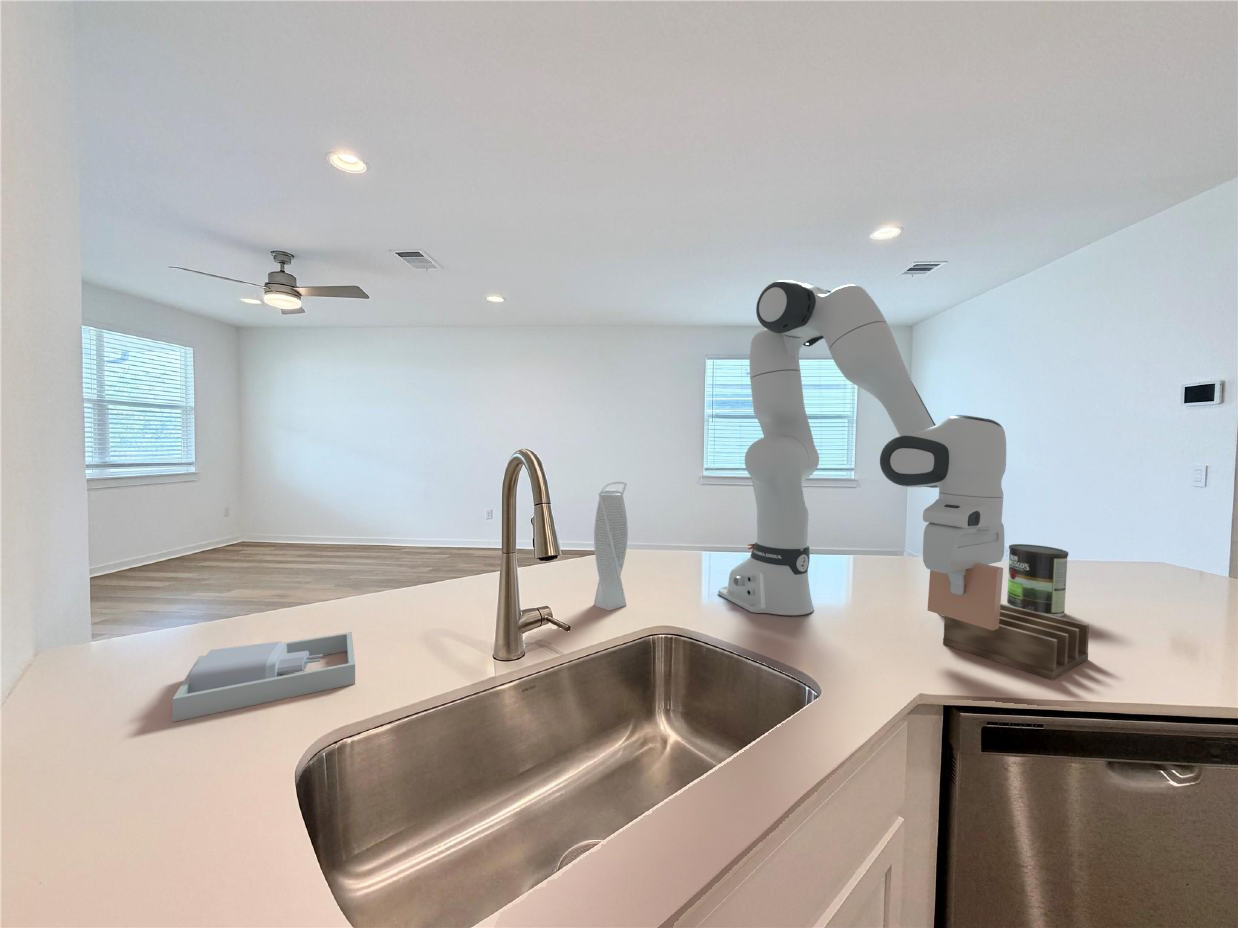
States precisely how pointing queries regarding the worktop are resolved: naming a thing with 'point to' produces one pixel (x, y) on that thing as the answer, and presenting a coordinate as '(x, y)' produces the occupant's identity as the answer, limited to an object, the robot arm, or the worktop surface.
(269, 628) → the worktop surface
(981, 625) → the tan wooden panel
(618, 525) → the skyscraper
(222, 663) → the charger
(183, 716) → the tray
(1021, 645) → the dish rack
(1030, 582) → the coffee can
